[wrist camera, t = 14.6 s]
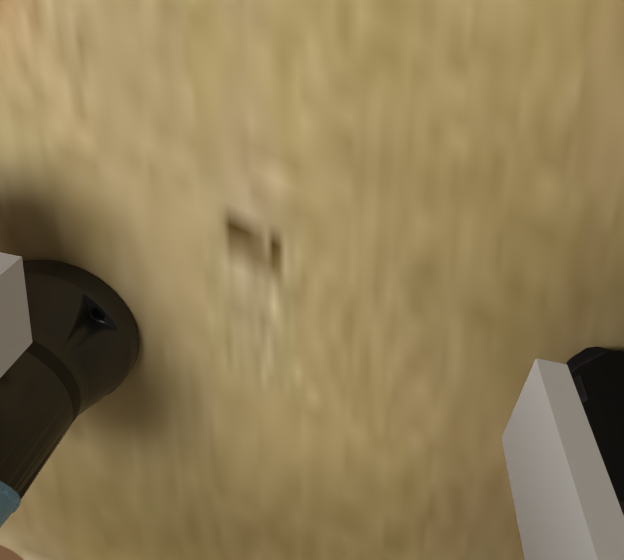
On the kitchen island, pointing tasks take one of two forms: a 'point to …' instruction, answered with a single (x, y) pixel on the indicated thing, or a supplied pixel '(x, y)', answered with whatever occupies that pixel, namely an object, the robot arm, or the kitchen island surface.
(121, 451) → the kitchen island surface
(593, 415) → the portable speaker
